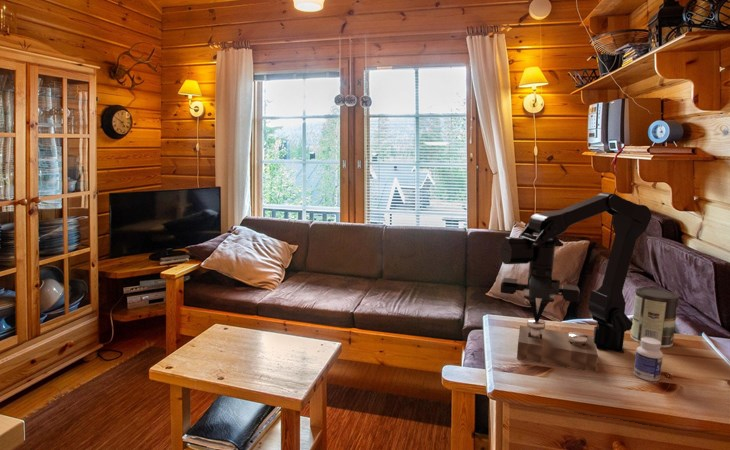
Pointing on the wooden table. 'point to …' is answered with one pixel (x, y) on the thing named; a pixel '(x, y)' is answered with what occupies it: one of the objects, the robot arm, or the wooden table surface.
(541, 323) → the far plunger
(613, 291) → the robot arm
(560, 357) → the block
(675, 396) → the wooden table surface
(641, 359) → the pill bottle
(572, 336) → the near plunger
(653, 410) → the wooden table surface
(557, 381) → the wooden table surface
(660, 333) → the coffee can
